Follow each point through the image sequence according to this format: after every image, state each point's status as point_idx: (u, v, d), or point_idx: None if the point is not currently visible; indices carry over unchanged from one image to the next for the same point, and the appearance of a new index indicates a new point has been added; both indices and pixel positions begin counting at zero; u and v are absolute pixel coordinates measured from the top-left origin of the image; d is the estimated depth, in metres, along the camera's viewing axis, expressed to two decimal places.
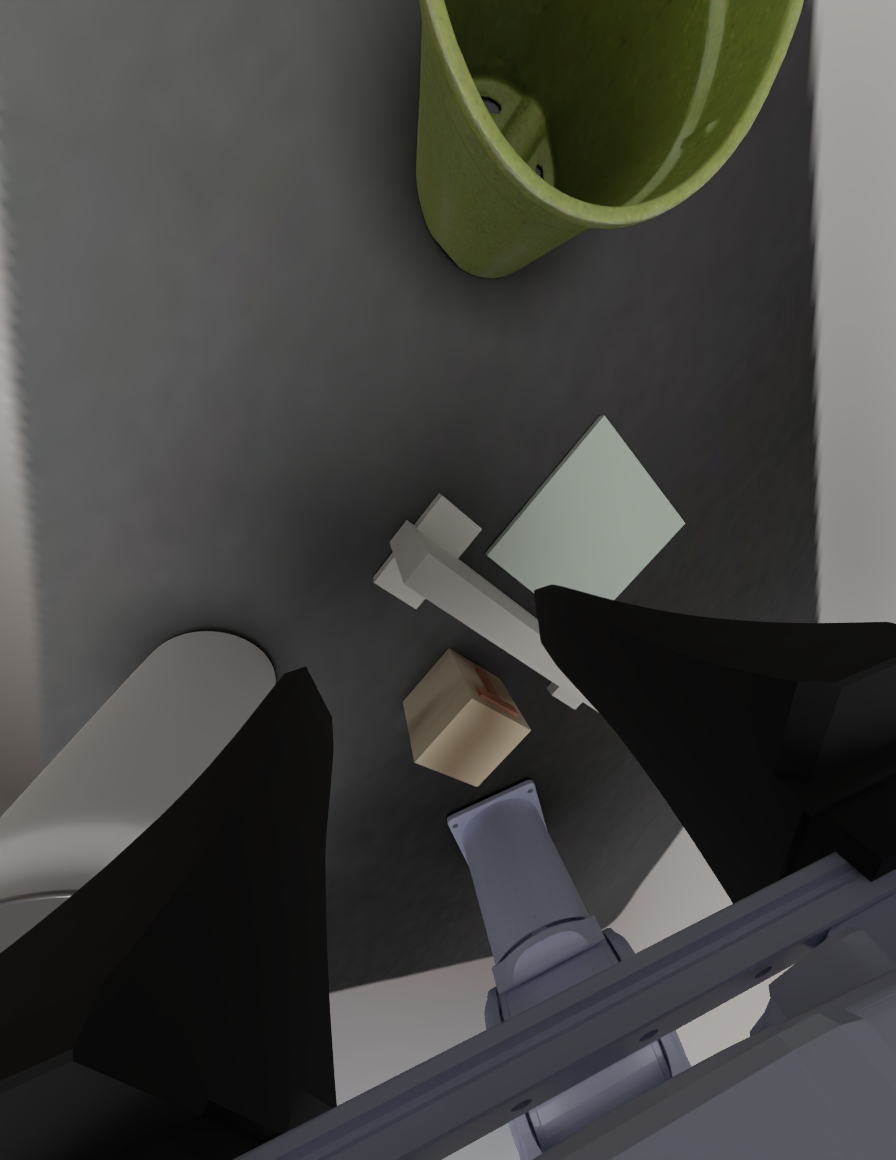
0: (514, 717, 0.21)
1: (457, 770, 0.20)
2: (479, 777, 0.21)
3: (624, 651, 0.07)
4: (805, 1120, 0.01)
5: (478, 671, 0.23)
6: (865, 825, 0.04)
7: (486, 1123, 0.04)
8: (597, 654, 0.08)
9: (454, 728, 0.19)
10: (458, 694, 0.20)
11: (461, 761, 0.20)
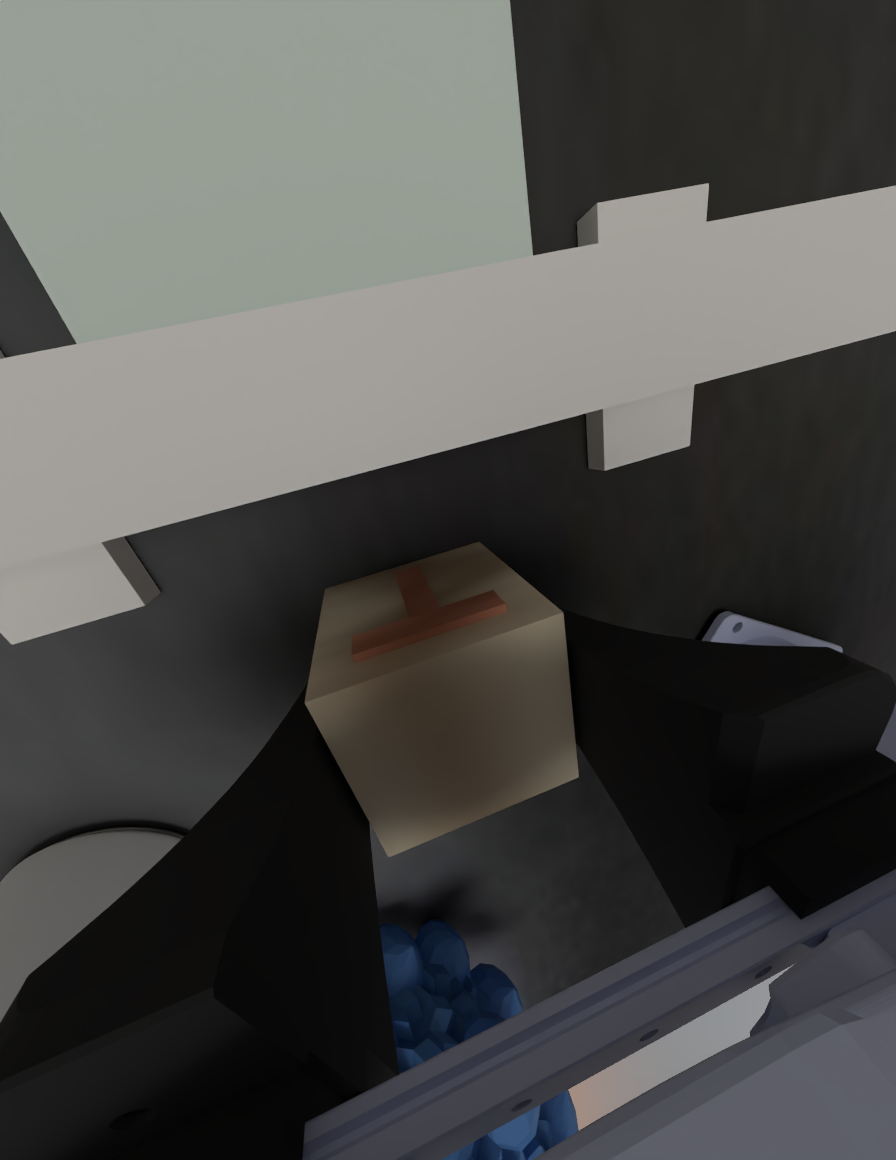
0: (496, 621, 0.07)
1: (494, 797, 0.08)
2: (562, 766, 0.09)
3: (580, 668, 0.07)
4: (806, 1121, 0.01)
5: (397, 580, 0.10)
6: (796, 860, 0.04)
7: (486, 1123, 0.04)
8: None
9: (370, 769, 0.07)
10: None
11: (480, 784, 0.08)
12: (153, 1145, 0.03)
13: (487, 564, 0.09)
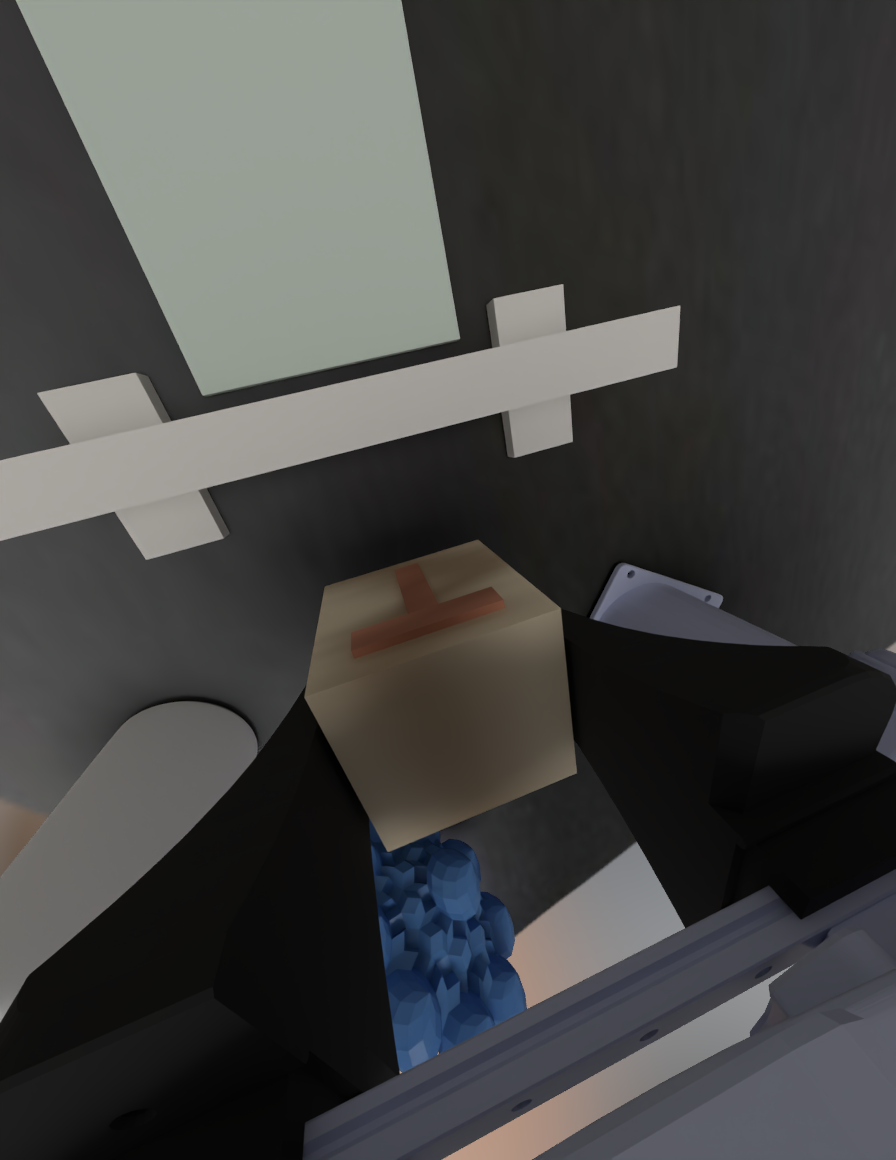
0: (494, 617, 0.07)
1: (493, 792, 0.08)
2: (561, 761, 0.09)
3: (580, 667, 0.07)
4: (805, 1119, 0.01)
5: (396, 578, 0.10)
6: (796, 860, 0.04)
7: (486, 1123, 0.04)
8: None
9: (369, 764, 0.07)
10: None
11: (479, 779, 0.08)
12: (153, 1145, 0.03)
13: (486, 561, 0.10)
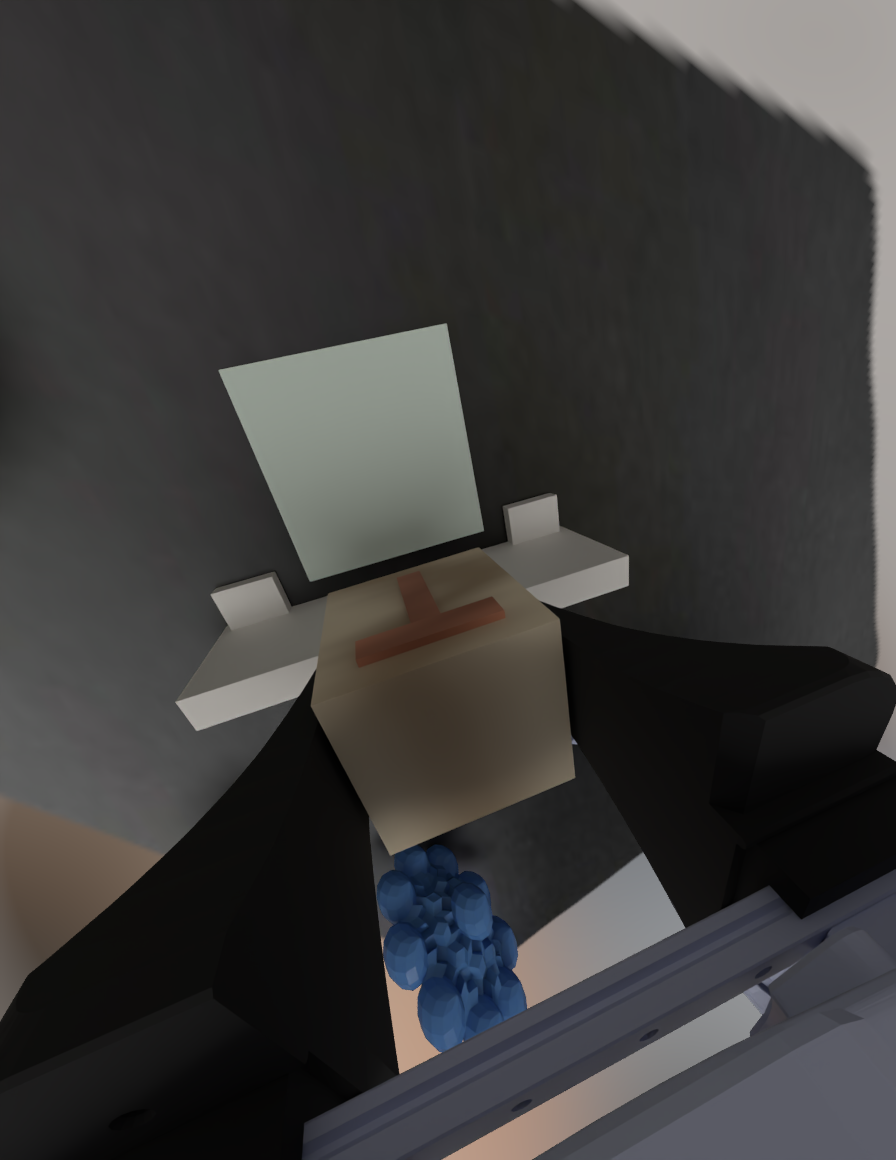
0: (495, 627, 0.07)
1: (493, 797, 0.09)
2: (559, 767, 0.09)
3: (580, 667, 0.07)
4: (805, 1120, 0.01)
5: (399, 585, 0.10)
6: (796, 860, 0.04)
7: (486, 1123, 0.04)
8: None
9: (372, 770, 0.07)
10: None
11: (479, 784, 0.08)
12: (153, 1146, 0.03)
13: (486, 570, 0.10)
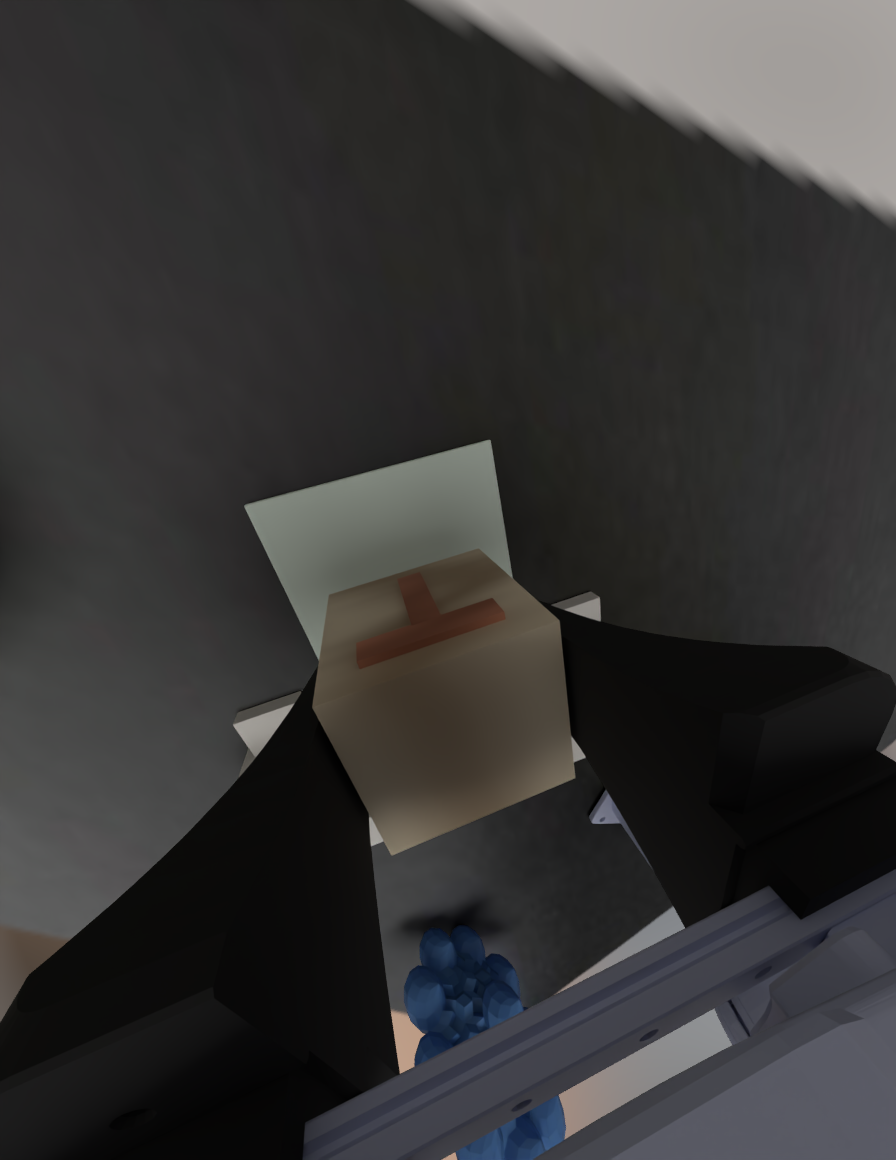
0: (494, 628, 0.07)
1: (494, 797, 0.09)
2: (559, 767, 0.09)
3: (580, 668, 0.07)
4: (805, 1119, 0.01)
5: (399, 587, 0.10)
6: (796, 860, 0.04)
7: (486, 1123, 0.04)
8: None
9: (374, 770, 0.07)
10: None
11: (480, 785, 0.08)
12: (153, 1145, 0.03)
13: (486, 571, 0.10)
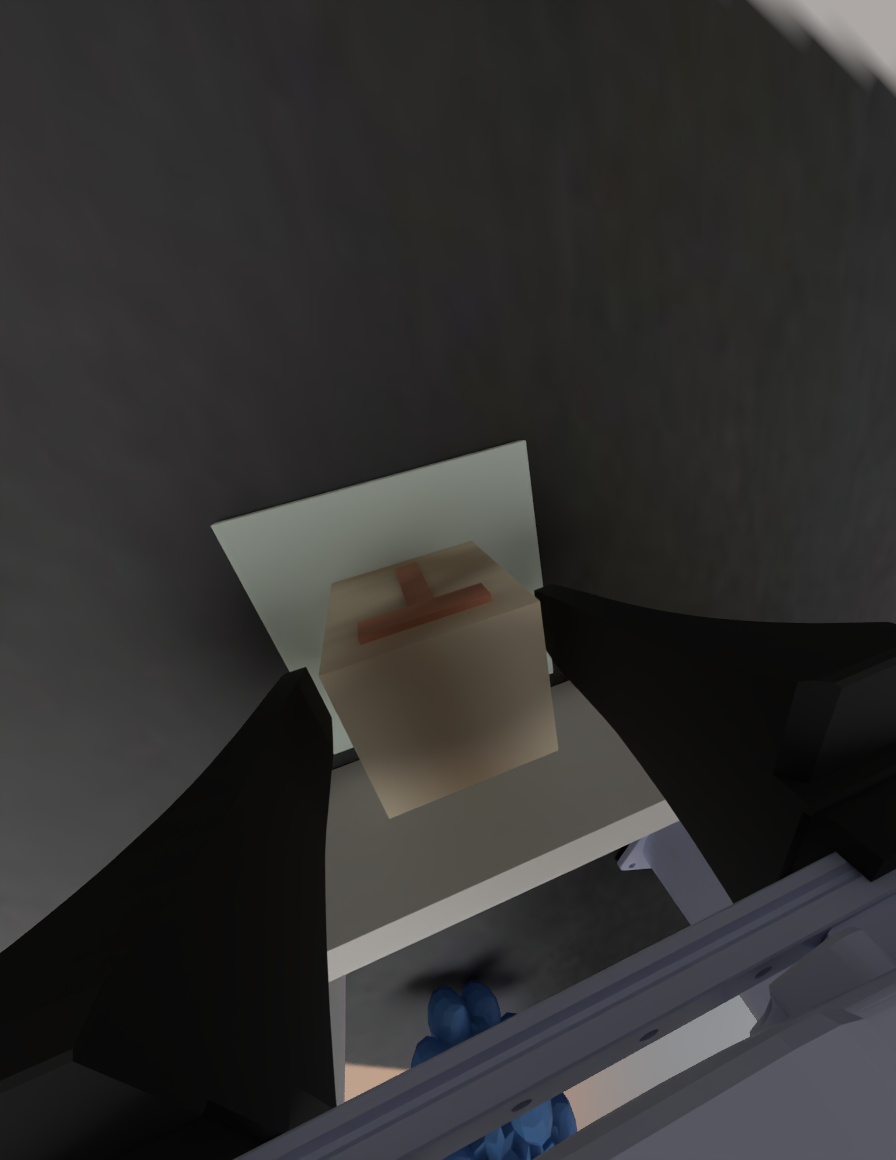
0: (482, 609, 0.08)
1: (483, 766, 0.09)
2: (543, 740, 0.10)
3: (624, 651, 0.07)
4: (804, 1119, 0.01)
5: (397, 575, 0.11)
6: (865, 825, 0.04)
7: (486, 1123, 0.04)
8: (597, 654, 0.08)
9: (373, 737, 0.08)
10: None
11: (470, 753, 0.09)
12: None
13: (478, 561, 0.11)
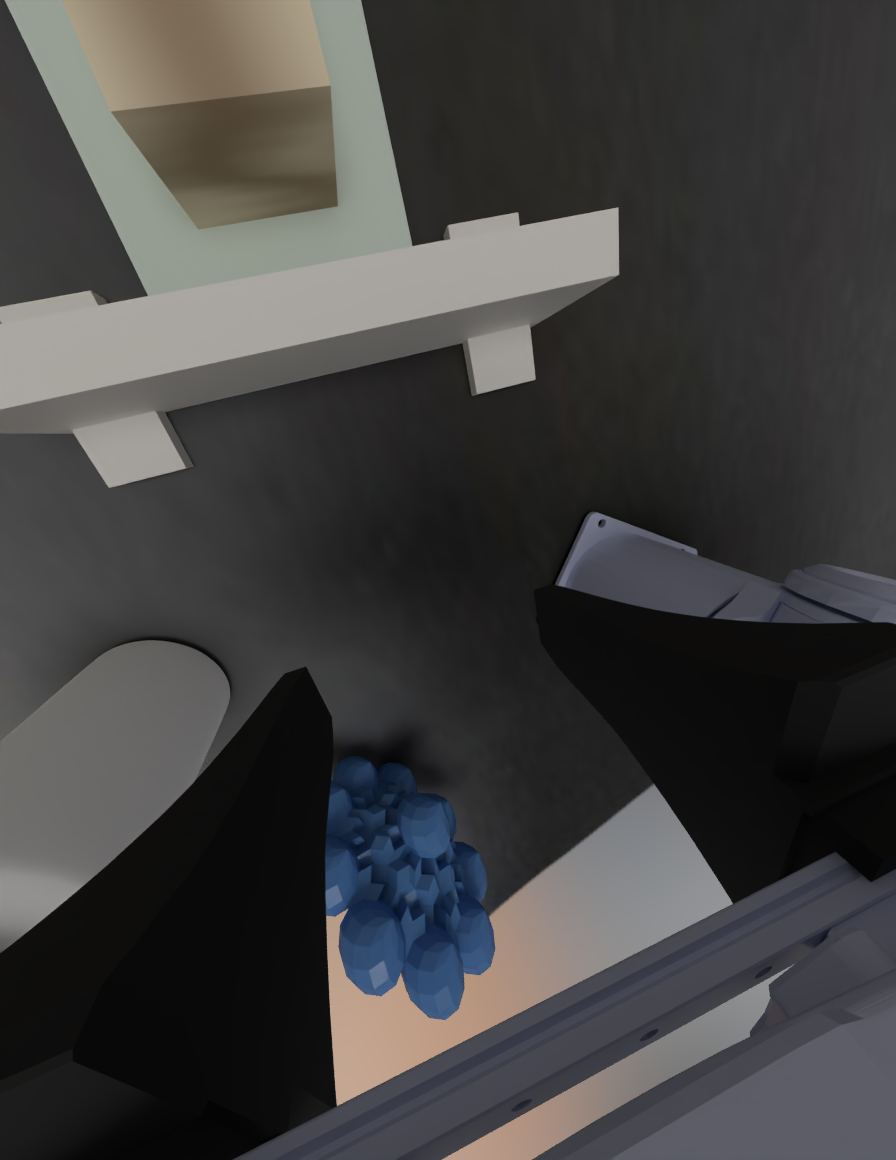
0: None
1: (225, 59, 0.08)
2: (303, 45, 0.08)
3: (624, 651, 0.07)
4: (806, 1121, 0.01)
5: None
6: (865, 825, 0.04)
7: (486, 1123, 0.04)
8: (597, 654, 0.08)
9: None
10: None
11: (200, 17, 0.08)
12: None
13: None
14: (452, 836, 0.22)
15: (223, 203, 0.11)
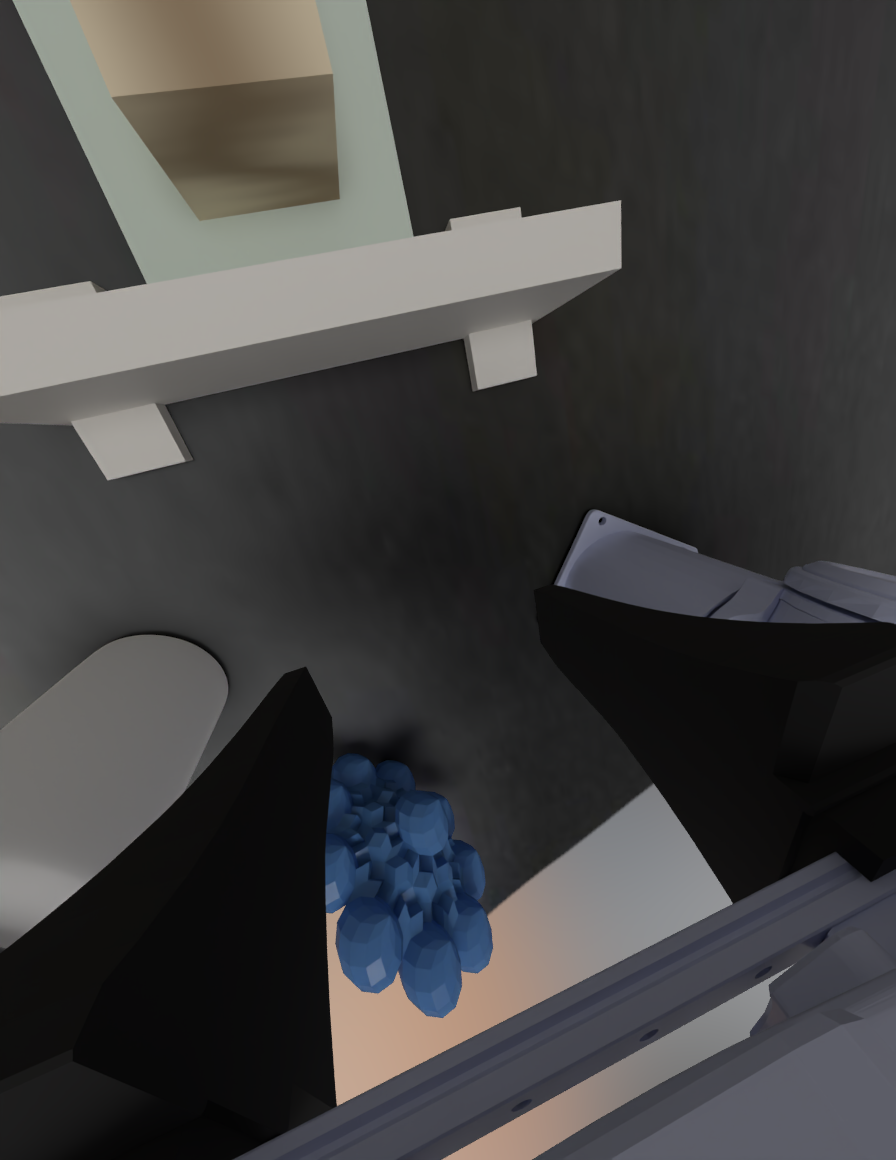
0: None
1: (227, 46, 0.08)
2: (306, 33, 0.08)
3: (624, 651, 0.07)
4: (806, 1121, 0.01)
5: None
6: (865, 825, 0.04)
7: (486, 1123, 0.04)
8: (597, 654, 0.08)
9: None
10: None
11: (201, 3, 0.08)
12: None
13: None
14: (450, 834, 0.22)
15: (224, 194, 0.11)
